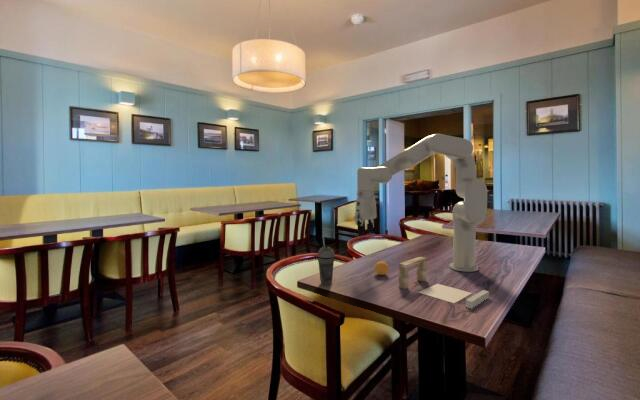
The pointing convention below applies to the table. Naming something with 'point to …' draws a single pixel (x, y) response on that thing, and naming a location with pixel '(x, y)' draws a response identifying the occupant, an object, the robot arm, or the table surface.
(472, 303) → the wall
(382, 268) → the ball
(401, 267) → the bridge
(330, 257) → the beverage cup
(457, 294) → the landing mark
